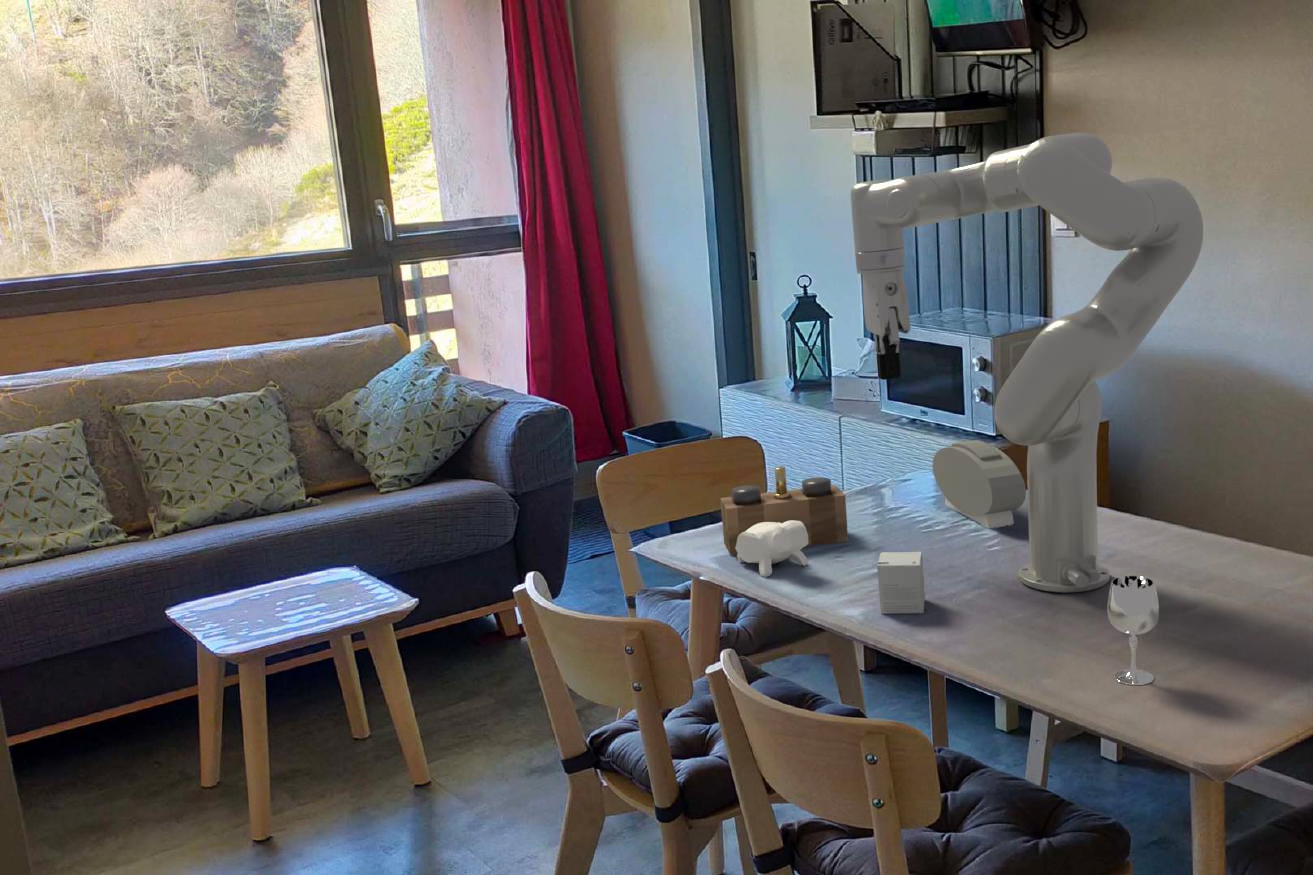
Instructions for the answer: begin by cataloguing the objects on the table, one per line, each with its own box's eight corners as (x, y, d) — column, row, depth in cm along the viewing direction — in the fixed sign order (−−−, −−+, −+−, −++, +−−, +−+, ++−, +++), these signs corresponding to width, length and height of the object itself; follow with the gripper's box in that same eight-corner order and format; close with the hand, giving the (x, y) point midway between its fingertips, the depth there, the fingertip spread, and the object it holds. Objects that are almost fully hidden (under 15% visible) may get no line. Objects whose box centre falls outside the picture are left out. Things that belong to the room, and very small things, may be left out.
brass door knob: (792, 497, 214) (790, 469, 213) (774, 499, 213) (772, 471, 212) (789, 493, 217) (786, 464, 216) (771, 495, 216) (769, 466, 215)
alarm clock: (1028, 529, 212) (1025, 454, 209) (993, 534, 211) (991, 459, 208) (965, 496, 234) (962, 428, 231) (934, 500, 233) (930, 432, 230)
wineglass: (1107, 685, 151) (1105, 589, 148) (1109, 666, 156) (1107, 573, 154) (1159, 688, 149) (1159, 591, 146) (1159, 669, 154) (1158, 574, 152)
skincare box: (925, 599, 185) (923, 550, 183) (923, 614, 179) (921, 564, 177) (882, 599, 186) (880, 551, 184) (879, 614, 180) (876, 564, 179)
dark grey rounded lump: (766, 542, 214) (762, 491, 212) (738, 546, 214) (733, 494, 212) (761, 534, 219) (757, 484, 217) (733, 538, 218) (729, 487, 216)
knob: (836, 534, 215) (833, 483, 213) (808, 537, 214) (805, 486, 213) (830, 526, 219) (827, 476, 218) (802, 530, 219) (799, 479, 217)
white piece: (737, 584, 207) (786, 571, 194) (723, 533, 208) (770, 517, 195) (780, 571, 212) (830, 558, 198) (766, 522, 213) (815, 505, 199)
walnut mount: (848, 541, 214) (845, 495, 212) (730, 555, 213) (726, 508, 211) (838, 529, 221) (835, 484, 219) (724, 542, 219) (720, 498, 218)
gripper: (918, 261, 191) (927, 382, 194) (890, 256, 205) (899, 368, 209) (869, 267, 190) (878, 388, 194) (845, 261, 205) (854, 374, 208)
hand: (889, 377), depth 201 cm, fingers closed
